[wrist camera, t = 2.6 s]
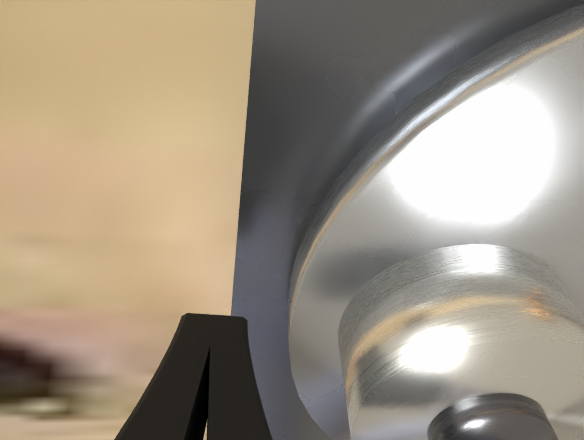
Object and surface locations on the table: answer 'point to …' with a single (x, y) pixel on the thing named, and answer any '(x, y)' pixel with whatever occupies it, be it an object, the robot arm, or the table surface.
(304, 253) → the platter
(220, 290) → the table surface
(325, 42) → the turntable base
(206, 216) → the table surface
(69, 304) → the table surface
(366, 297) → the cover
